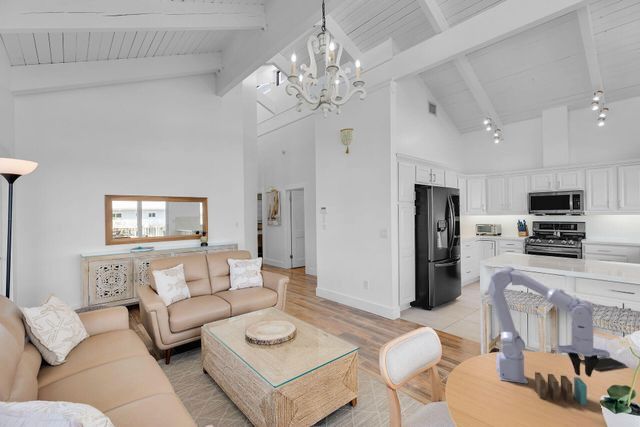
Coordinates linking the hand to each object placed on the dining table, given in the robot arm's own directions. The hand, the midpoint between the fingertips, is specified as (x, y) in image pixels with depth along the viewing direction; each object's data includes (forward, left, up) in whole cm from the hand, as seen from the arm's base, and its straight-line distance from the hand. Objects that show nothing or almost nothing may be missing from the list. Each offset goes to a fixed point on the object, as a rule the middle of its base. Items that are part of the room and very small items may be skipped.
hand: (582, 374), depth 106 cm
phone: (+19, +30, -10) cm, 37 cm away
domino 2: (-9, 0, -10) cm, 13 cm away
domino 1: (-13, 0, -10) cm, 16 cm away
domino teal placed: (-1, 0, -10) cm, 10 cm away
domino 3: (-5, 0, -10) cm, 11 cm away
